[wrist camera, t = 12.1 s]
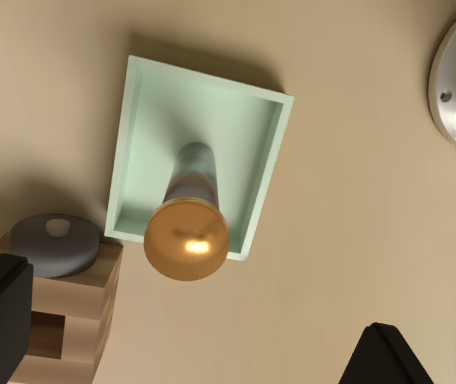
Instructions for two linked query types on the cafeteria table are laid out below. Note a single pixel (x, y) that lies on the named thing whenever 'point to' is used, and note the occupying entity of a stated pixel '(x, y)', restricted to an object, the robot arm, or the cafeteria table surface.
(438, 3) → the cafeteria table surface
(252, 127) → the tray
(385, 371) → the robot arm
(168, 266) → the lock pin
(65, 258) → the block
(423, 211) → the cafeteria table surface
